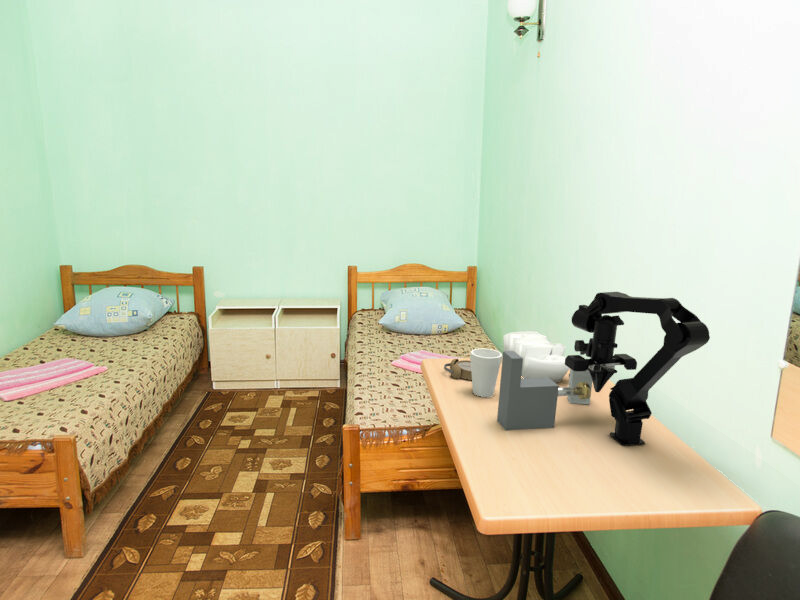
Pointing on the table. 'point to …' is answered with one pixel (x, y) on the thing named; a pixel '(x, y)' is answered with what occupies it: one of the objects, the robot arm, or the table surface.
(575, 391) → the shaft
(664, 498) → the table surface
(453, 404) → the table surface
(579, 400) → the skincare box
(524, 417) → the block
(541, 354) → the wavy white extrusion
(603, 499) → the table surface
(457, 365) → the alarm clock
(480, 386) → the foam cup
